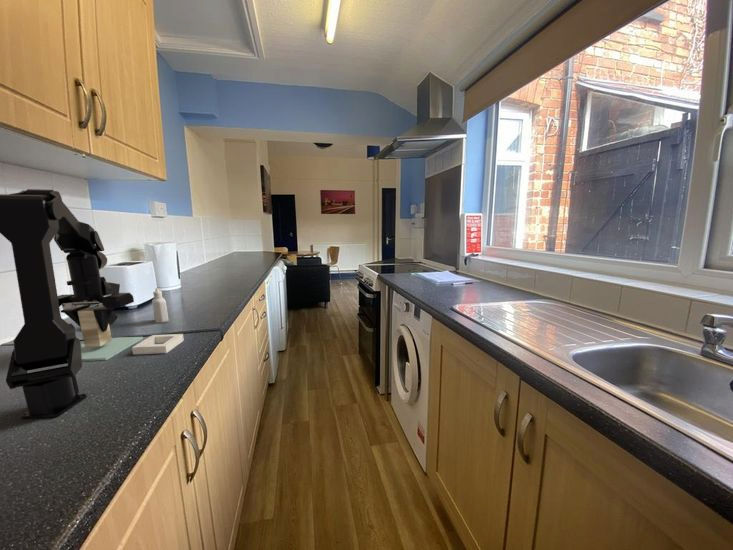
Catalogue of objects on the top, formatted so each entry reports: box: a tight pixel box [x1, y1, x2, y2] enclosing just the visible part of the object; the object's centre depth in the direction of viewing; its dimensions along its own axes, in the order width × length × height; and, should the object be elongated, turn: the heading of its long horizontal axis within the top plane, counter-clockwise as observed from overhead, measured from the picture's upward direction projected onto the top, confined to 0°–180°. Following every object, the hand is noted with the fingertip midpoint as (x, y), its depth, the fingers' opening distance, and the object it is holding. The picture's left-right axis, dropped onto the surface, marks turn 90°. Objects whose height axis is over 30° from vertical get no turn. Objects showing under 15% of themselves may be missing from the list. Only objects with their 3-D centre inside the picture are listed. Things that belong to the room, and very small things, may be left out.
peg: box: [78, 306, 113, 347], centre depth 82 cm, size 4×4×10 cm
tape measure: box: [109, 313, 118, 326], centre depth 101 cm, size 7×7×4 cm
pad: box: [80, 336, 144, 362], centre depth 83 cm, size 14×14×1 cm
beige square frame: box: [131, 333, 185, 356], centre depth 84 cm, size 8×8×2 cm
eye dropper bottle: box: [151, 287, 169, 324], centre depth 105 cm, size 4×6×12 cm
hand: (96, 331), depth 82 cm, fingers closed on peg, 4 cm apart
